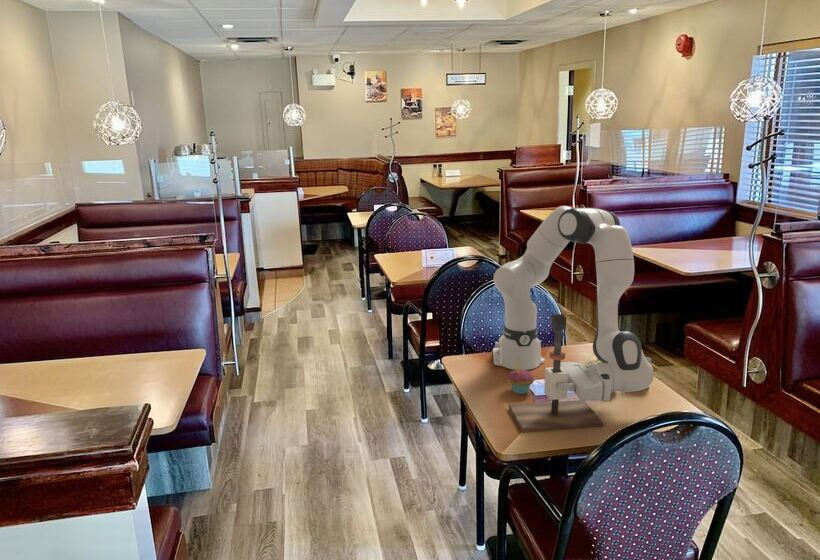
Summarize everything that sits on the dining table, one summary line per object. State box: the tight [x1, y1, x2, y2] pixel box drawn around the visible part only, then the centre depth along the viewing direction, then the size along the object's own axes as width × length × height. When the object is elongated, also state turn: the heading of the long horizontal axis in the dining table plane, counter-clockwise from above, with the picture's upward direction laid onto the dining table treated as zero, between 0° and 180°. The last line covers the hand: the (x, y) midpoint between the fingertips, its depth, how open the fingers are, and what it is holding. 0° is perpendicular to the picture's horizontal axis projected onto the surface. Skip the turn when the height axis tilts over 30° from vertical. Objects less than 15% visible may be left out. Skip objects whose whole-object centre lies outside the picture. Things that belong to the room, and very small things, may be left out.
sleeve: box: [543, 366, 568, 401], centre depth 187 cm, size 5×5×8 cm
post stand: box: [508, 313, 604, 433], centre depth 186 cm, size 15×24×32 cm, turn 96°
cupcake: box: [507, 358, 535, 395], centre depth 207 cm, size 9×8×12 cm
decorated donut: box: [584, 358, 603, 368], centre depth 222 cm, size 10×11×4 cm
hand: (553, 381), depth 187 cm, fingers closed on sleeve, 5 cm apart
